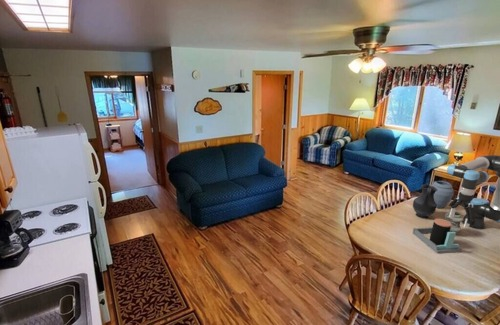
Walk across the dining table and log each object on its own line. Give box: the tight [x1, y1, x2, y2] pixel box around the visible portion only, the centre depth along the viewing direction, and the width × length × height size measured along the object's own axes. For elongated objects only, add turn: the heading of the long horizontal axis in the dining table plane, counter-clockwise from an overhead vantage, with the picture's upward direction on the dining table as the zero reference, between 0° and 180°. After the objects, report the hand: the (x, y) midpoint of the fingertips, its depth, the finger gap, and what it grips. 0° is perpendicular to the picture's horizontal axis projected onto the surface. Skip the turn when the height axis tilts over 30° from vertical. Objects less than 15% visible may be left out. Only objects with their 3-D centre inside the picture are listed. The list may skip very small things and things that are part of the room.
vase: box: [430, 180, 454, 209], centre depth 254 cm, size 20×20×24 cm
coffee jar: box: [428, 218, 452, 245], centre depth 200 cm, size 11×11×18 cm
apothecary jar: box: [444, 210, 464, 237], centre depth 213 cm, size 12×12×18 cm
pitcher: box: [412, 184, 438, 220], centre depth 234 cm, size 17×21×30 cm
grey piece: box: [412, 226, 463, 254], centre depth 203 cm, size 19×25×4 cm
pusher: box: [437, 232, 460, 250], centre depth 192 cm, size 16×2×15 cm, turn 96°
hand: (458, 221), depth 183 cm, fingers open, 13 cm apart
